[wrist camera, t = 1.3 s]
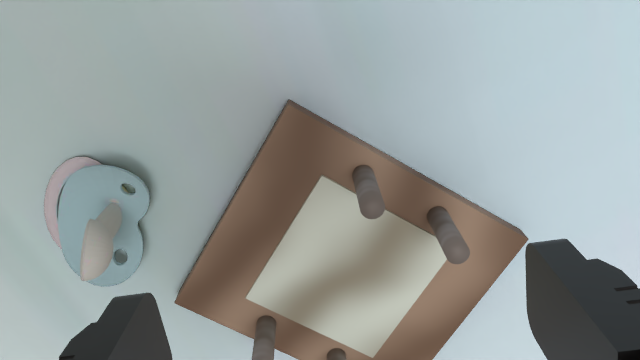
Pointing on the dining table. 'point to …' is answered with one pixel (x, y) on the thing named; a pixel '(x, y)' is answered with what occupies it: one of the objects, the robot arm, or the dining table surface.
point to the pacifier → (96, 218)
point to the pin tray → (344, 251)
